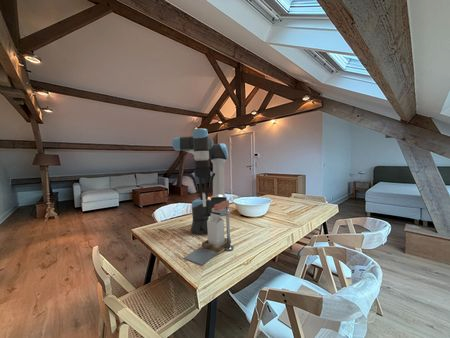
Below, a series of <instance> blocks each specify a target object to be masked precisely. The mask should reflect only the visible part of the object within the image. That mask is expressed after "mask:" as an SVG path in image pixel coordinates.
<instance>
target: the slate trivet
mask: <svg viewBox="0 0 450 338" xmlns="http://www.w3.org/2000/svg"><path fill="white" fill-rule="evenodd" d="M217 255H219V252H216V251H213V250H209V249H206V248H203V247H202V246H200V247H198V248H196V249H195V250H193V251H192V252H190V253H188V254H187V255H185V256H184V257H183V259H184V260H186V261H189V262H192V263H193V264H196V265H199V266H204V265H205V264H206V263H208V262H209V261H211V259H213V258H214V257H215V256H217Z"/></svg>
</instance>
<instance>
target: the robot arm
mask: <svg viewBox="0 0 450 338" xmlns="http://www.w3.org/2000/svg"><path fill="white" fill-rule="evenodd" d="M171 144H172V148H173V150H174V151H176V152H177V151H180V152H181V151H182V152H183V151H184V152H186V153H188V154H192V155H193V159H194V161H193V162H194V170H193V172H192V173H190V175H189V177H190V179H192V182H193V185H194V189H195V192H196V193H197V194H199V198H195V199H194V200H192V202H191V213H192V223H191V227H190V233H191V234H193V235H205V234H208V229H207V221H208V219H209V217H210V216H211V213H212V214H217V215H220V218H222V217H226V215H225V214H222V213H216V212H212V208H214V205H215V204H218V203H221V202H223V201H229V202H230V200H229V199H228V197H227V196H226V195H225V194H226V193H225V187H226V186H225V163H226V162H227V159H229V152H228V151H229V150H228V147H227V145H226V144H225V143H214V140H213V138H212V137H211V136H209V133H208V129H207V128H202V127H200V128H195V129H193V130H192V136H177V137H174V138H173V139H172V143H171ZM210 163H212V170H211V168H210V167H211V165H210ZM209 175H210V179H209V185H208V178H209ZM196 176H197V178H198V183H199V184H198V185H197V180H196V178H195V177H196ZM203 181H204V182H203ZM203 183H204V192H203ZM198 186H199V188H198ZM210 192H212V195H211V197H210V199H209V195H208V193H210ZM223 209H226V208H223Z"/></svg>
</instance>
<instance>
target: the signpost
mask: <svg viewBox="0 0 450 338" xmlns="http://www.w3.org/2000/svg"><path fill="white" fill-rule="evenodd" d="M223 208H226V209H223ZM212 212H216V213H222V214H225V215H226V216H225V224H226V238H227V246H228V248H231V246H232V245H231V244H232V242H231V243H230V239H231V229H230V227H231V226H230V215H231V209H230V200H229V201H223V202H221V203H218V204H215V205H214V208H212Z"/></svg>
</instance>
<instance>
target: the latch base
mask: <svg viewBox="0 0 450 338" xmlns="http://www.w3.org/2000/svg"><path fill="white" fill-rule="evenodd" d="M234 248H235V247H234V246H233V245H231V248H228V246H225V248H224V251H226V252H232V251H234V250H233V249H234Z"/></svg>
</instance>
